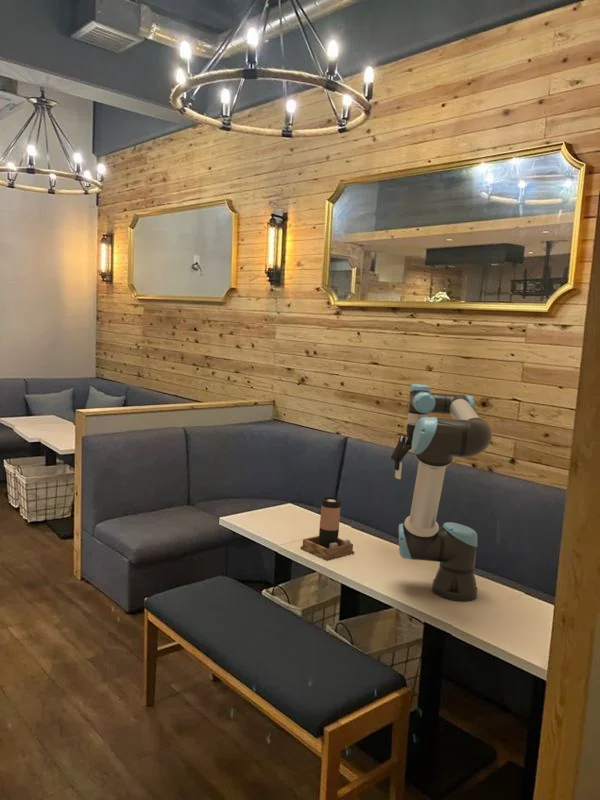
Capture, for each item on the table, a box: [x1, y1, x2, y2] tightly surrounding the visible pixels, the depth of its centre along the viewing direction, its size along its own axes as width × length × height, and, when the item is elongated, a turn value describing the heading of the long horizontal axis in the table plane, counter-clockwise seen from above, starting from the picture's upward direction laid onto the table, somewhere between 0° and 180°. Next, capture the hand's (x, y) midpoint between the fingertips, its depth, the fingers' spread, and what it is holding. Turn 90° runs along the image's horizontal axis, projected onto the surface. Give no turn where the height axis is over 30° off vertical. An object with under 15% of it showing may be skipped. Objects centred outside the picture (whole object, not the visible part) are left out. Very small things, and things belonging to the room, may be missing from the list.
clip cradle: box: [300, 535, 355, 562], centre depth 247 cm, size 15×15×6 cm
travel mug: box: [318, 496, 342, 549], centre depth 247 cm, size 8×8×20 cm
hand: (411, 477), depth 246 cm, fingers open, 13 cm apart
